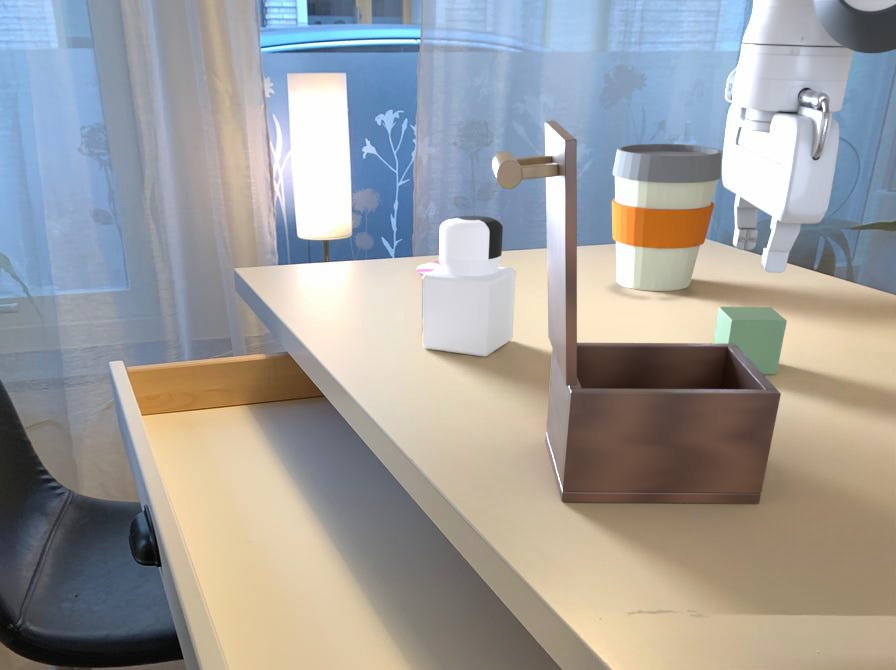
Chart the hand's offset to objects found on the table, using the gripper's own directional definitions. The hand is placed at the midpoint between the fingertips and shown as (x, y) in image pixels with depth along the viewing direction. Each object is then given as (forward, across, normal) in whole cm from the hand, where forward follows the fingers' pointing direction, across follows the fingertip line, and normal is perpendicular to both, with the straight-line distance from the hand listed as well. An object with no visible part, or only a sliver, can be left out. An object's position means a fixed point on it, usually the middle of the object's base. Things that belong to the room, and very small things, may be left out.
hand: (757, 259), depth 92 cm
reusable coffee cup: (+10, +35, +1) cm, 36 cm away
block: (+10, 0, 0) cm, 10 cm away
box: (+10, -26, +14) cm, 31 cm away
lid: (-5, -26, +21) cm, 34 cm away
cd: (+10, +41, +25) cm, 49 cm away
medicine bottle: (+10, +7, +26) cm, 28 cm away
